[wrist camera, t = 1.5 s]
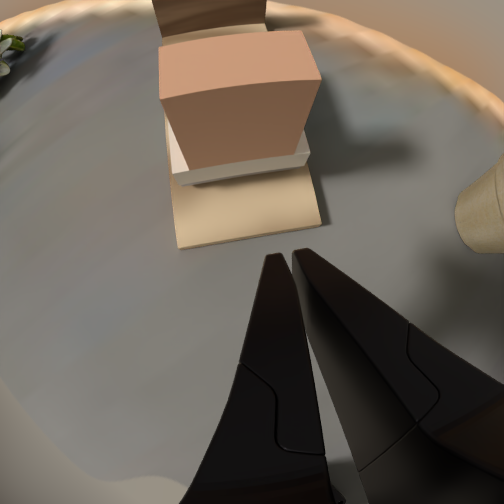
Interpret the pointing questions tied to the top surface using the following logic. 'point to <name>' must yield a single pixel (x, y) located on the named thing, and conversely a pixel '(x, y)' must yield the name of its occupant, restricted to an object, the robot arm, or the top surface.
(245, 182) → the tan cardboard slab
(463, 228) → the flower pot
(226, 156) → the brown piece
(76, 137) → the top surface
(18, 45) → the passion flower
